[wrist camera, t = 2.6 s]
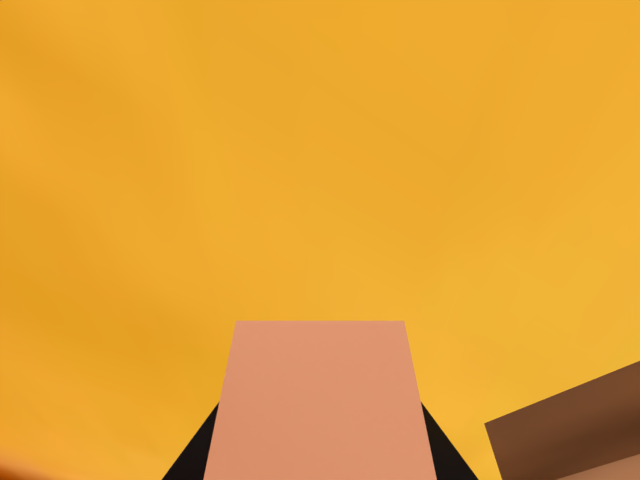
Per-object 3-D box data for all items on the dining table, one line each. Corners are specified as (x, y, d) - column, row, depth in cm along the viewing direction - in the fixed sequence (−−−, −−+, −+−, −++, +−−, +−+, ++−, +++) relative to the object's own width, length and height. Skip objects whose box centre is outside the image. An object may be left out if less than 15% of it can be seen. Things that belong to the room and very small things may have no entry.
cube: (253, 408, 15) (230, 578, 11) (235, 320, 12) (196, 513, 8) (386, 408, 15) (410, 578, 11) (404, 320, 12) (443, 513, 8)
